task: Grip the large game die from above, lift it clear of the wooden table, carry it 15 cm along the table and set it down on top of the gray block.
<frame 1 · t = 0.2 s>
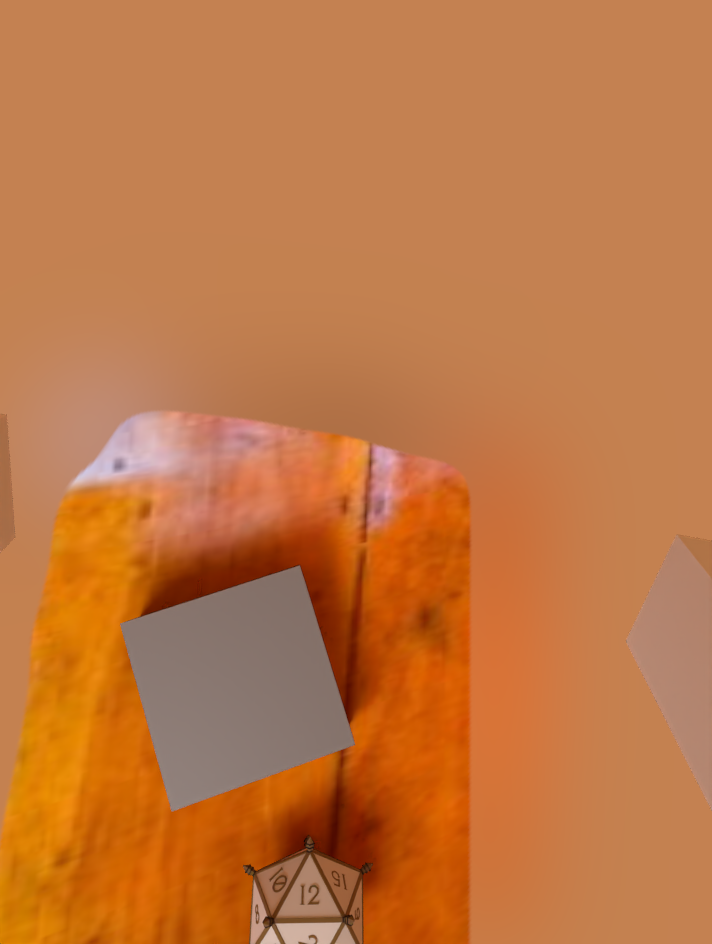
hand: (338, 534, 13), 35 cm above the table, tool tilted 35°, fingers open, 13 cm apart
gray block: (244, 670, 46), on the table
game die: (306, 880, 44), on the table
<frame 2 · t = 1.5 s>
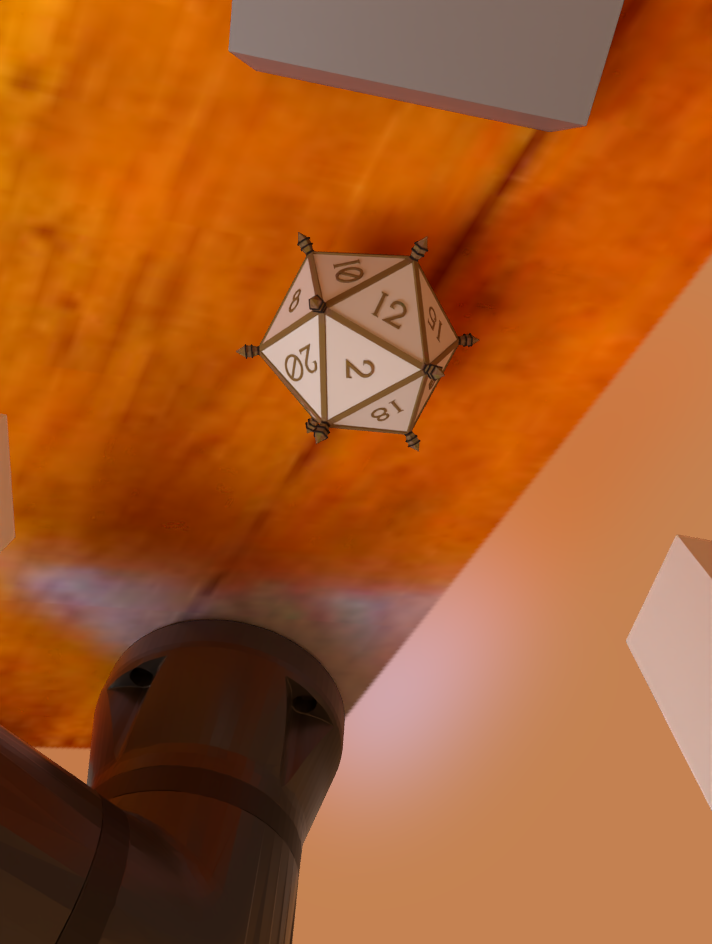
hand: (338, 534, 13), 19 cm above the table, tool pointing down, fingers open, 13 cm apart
game die: (363, 322, 30), on the table
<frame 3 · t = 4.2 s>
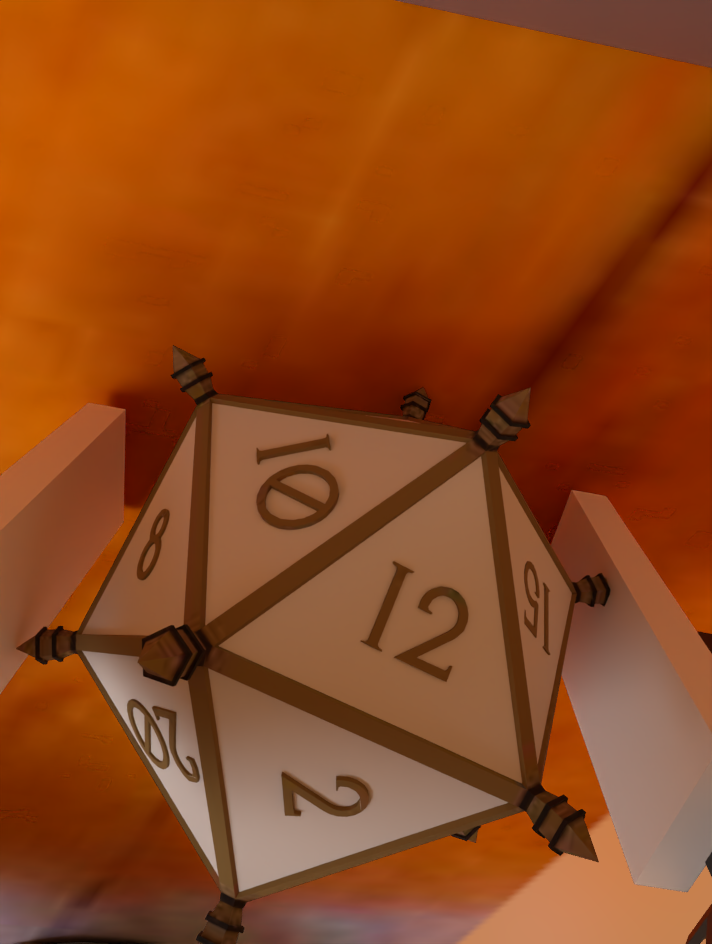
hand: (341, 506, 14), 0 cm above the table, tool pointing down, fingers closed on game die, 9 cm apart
game die: (350, 495, 14), on the table, touching gripper
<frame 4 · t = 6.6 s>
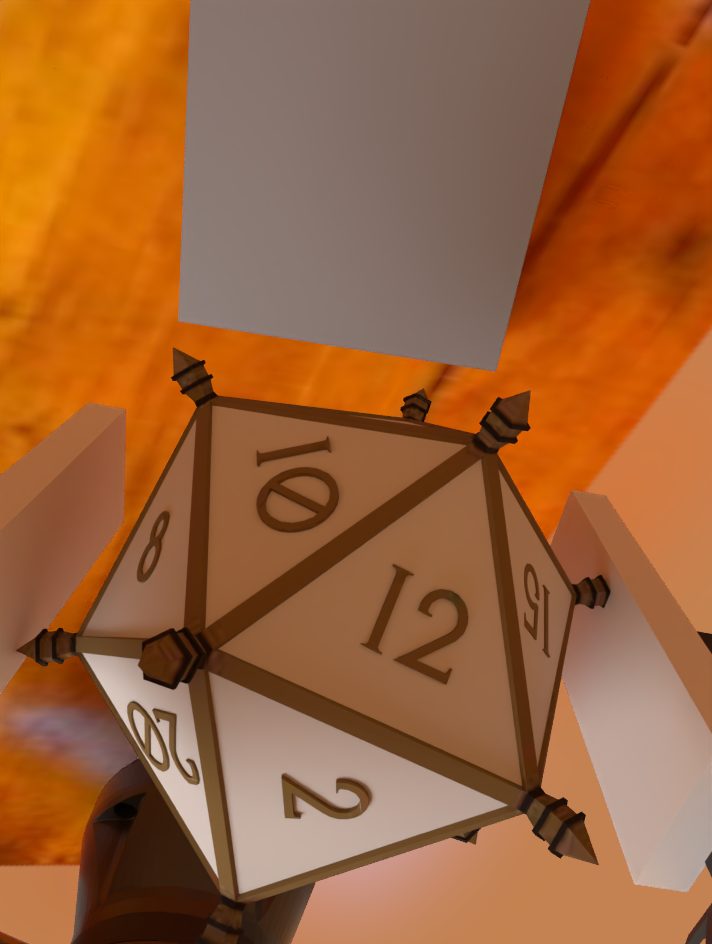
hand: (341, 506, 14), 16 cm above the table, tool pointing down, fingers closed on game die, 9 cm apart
gray block: (365, 172, 26), on the table
game die: (350, 497, 14), point 16 cm above the table, touching gripper
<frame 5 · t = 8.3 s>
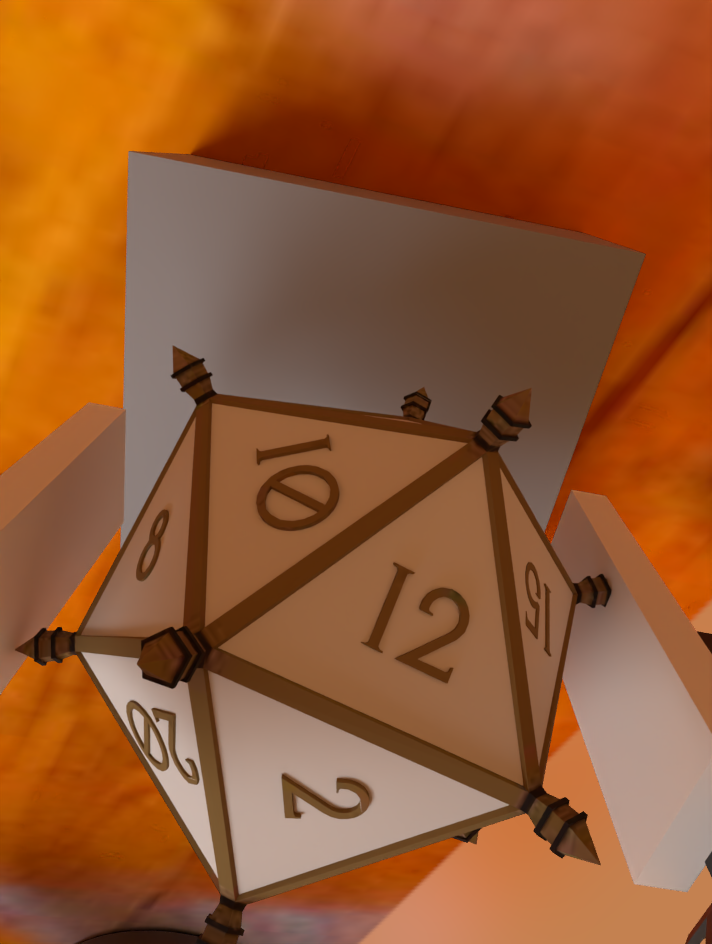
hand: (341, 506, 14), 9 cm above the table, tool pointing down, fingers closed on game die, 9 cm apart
gray block: (353, 383, 22), on the table
game die: (350, 496, 14), point 8 cm above the table, touching gripper
when the fingers open (7 cm above the table, at t = 9.5 s): game die drops 2 cm, resting on gray block.
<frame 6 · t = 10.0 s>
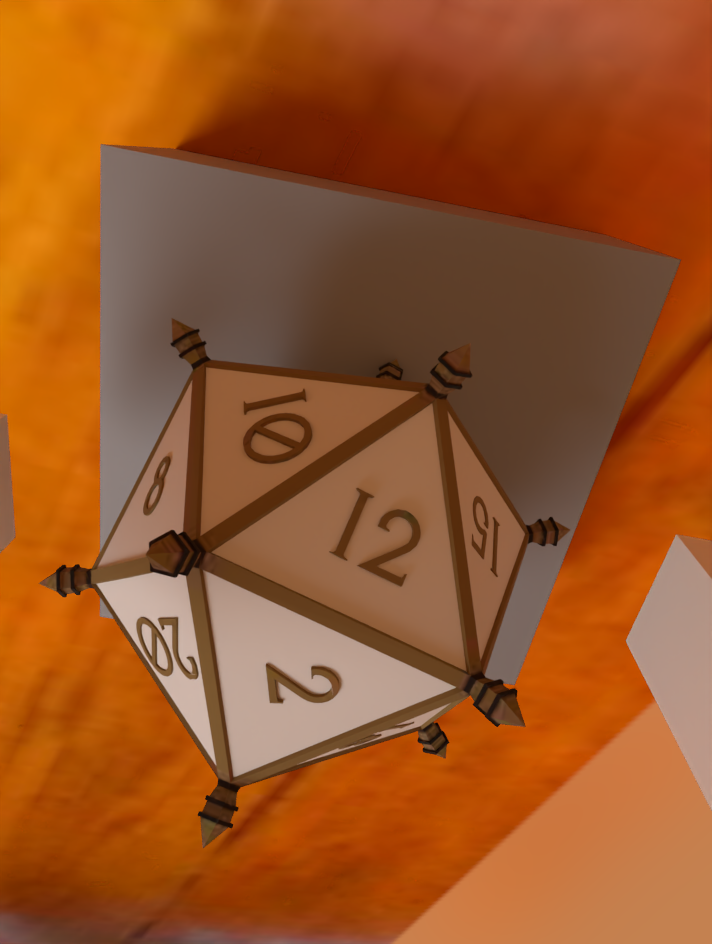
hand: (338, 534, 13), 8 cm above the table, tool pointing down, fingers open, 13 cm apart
gray block: (354, 397, 20), on the table
game die: (334, 460, 16), point 5 cm above the table, touching gray block
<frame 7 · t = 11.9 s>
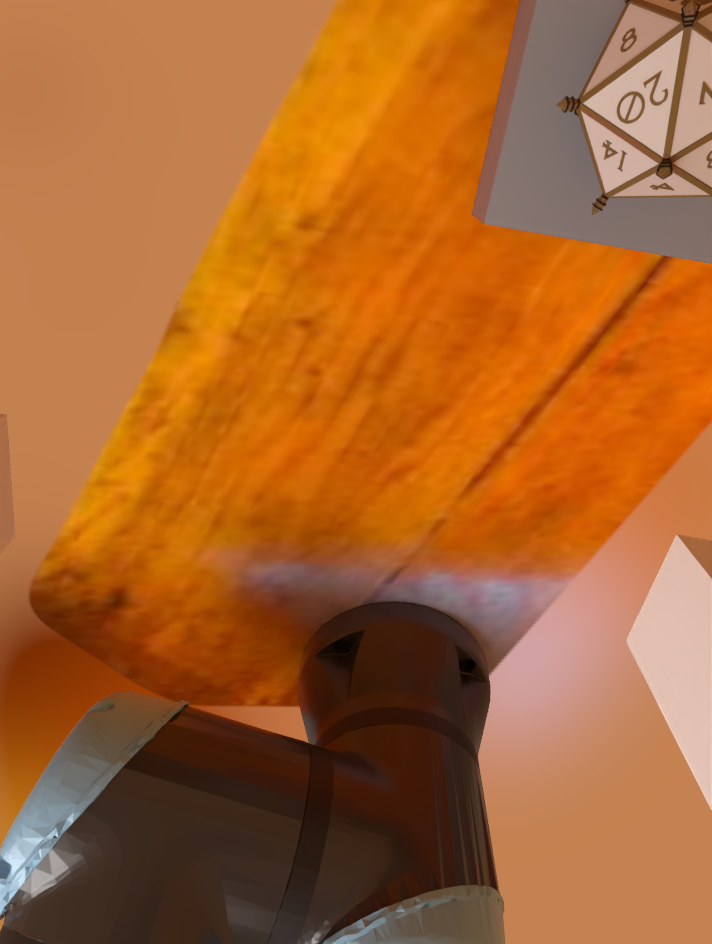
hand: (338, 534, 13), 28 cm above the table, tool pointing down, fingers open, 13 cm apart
gray block: (611, 112, 33), on the table
game die: (638, 106, 29), point 5 cm above the table, touching gray block
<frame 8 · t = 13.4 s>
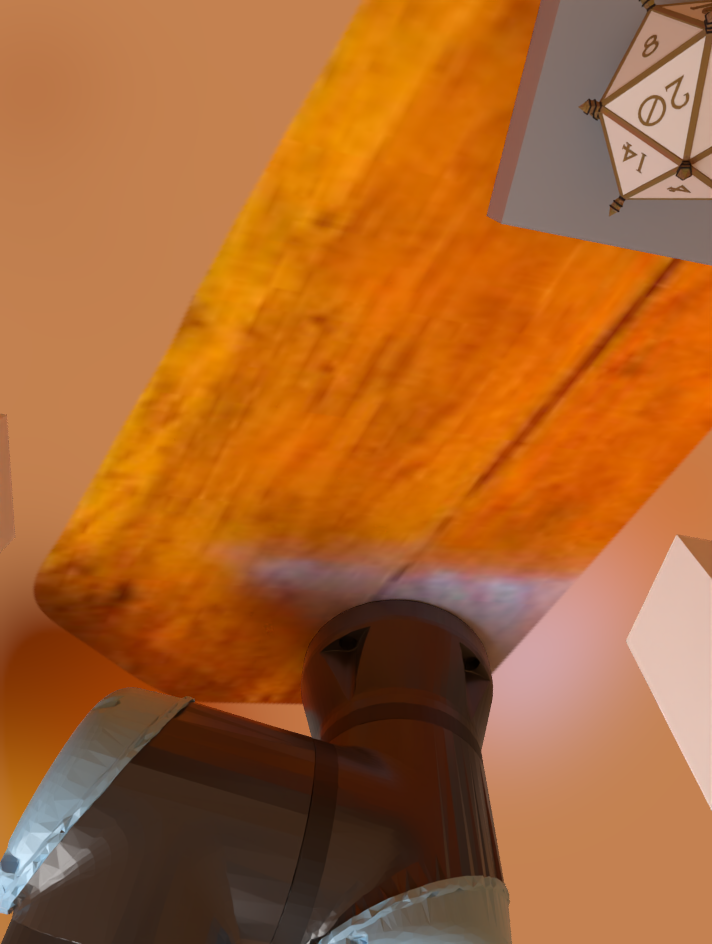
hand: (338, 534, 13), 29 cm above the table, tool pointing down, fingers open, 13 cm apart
gray block: (625, 119, 34), on the table
game die: (653, 112, 30), point 5 cm above the table, touching gray block
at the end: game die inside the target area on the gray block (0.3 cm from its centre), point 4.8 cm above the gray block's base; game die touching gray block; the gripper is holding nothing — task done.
